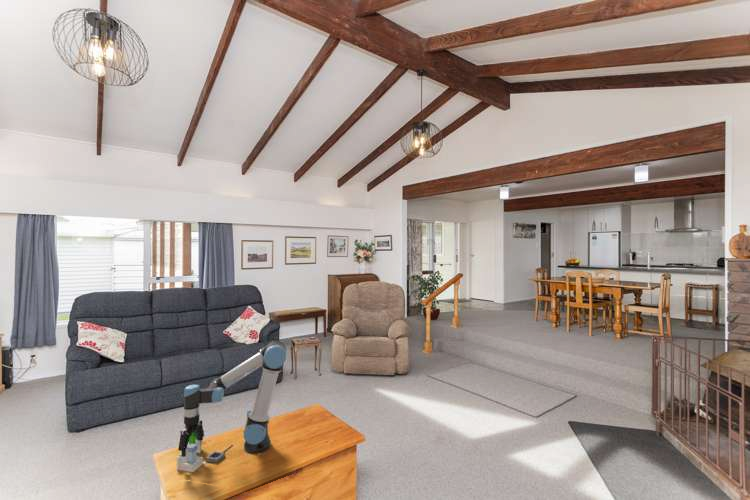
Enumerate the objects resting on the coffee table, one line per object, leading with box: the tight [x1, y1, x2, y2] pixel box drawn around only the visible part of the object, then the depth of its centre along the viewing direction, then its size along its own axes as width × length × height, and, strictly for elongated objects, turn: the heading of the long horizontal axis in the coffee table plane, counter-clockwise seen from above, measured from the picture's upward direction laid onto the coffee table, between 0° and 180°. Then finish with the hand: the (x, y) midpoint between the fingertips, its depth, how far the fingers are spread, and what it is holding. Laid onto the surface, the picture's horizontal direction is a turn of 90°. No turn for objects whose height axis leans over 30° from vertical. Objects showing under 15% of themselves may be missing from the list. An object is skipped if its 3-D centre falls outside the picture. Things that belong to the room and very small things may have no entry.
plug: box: [187, 444, 198, 464], centre depth 204 cm, size 4×4×10 cm
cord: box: [222, 444, 234, 454], centre depth 220 cm, size 1×12×1 cm, turn 165°
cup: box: [187, 429, 205, 446], centre depth 219 cm, size 9×9×11 cm
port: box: [176, 452, 206, 473], centre depth 204 cm, size 10×10×8 cm
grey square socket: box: [205, 450, 226, 464], centre depth 210 cm, size 7×7×3 cm
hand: (191, 456), depth 204 cm, fingers open, 9 cm apart
